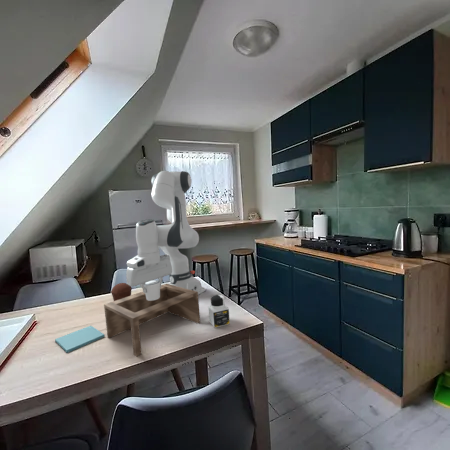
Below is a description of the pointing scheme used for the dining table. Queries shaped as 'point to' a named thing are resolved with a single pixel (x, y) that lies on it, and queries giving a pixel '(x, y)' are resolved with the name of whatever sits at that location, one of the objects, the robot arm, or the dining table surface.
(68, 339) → the mat
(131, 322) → the box
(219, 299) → the medicine bottle
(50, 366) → the dining table surface
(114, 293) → the muffin
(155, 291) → the shot glass
